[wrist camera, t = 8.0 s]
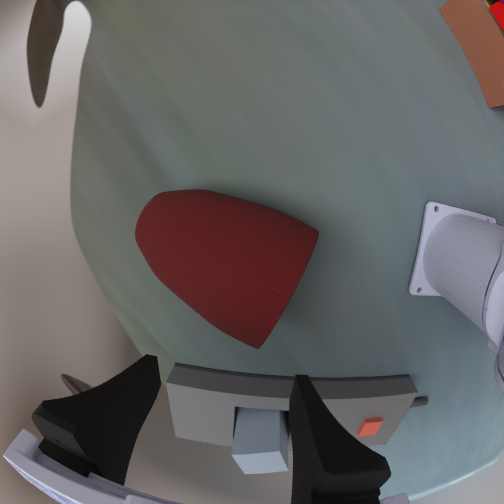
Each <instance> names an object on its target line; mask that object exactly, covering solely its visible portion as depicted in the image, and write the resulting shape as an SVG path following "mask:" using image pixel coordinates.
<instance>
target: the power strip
mask: <svg viewBox="0 0 504 504" xmlns="http://www.w3.org/2000/svg"><path fill="white" fill-rule="evenodd" d="M294 379H295V377H285V376H271V375H259V374H249V373H239V372H231V371H223V370H216V369H209V368H203V367H197V366H191V365H185V364H180V363H175V365H174V367H173V369H172V371H171V373H170V376H169V378H168V380H167V382H166V385H167V391H168V397H169V403H170V408H171V414H172V419H173V424H174V429H175V434H176V436H177V437H180V438H185V439H189V440H195V441H200V442H206V443H212V444H218V445H226V446H233V441H234V435H235V428H236V421H237V415H238V408H239V407H245V408H255V409H268V410H284V411H285V413H286V416H287V431H288V450H291V451H293V449H292V440H291V431H290V422H289V400H290V396H291V392H292V388H293V384H294ZM310 380H311V382H312V384H313V385H314V387H315V389H316V391H317V393H318V394H319V396H320V397H321V399H322V400H323V402H324V404H325V405H326V406H327V408H328V409H329V411H330V412H331V413H332V414H333V416H334V417H335V418H336V419H337V421H338V422H339V423H340V424H341V425H342V426H343V427H344V428H345V429H346V430H347V431H348V432H349V433H350V434H351V435H352V436H354V437H355V438H356V439H357V440H358V441H360V442H361V443H362V444H364V445H365V446H374V445H381V444H386V442H387V441H388V440H389V438H390V437H391V435H392V434H393V432H394V431H395V429H396V428H397V426H398V425H399V423H400V422H401V420H402V419H403V417H404V416H405V414H406V412H407V411H408V409H409V408H412V407H417V406H423V405H426V404H427V403H428V398H419V399H415V397H416V395H417V394H418V391H417V389H416V387H415V386H414V384H413V382H412V380H411V379H410V377H409V375H397V376H383V377H362V378H310Z"/></svg>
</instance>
